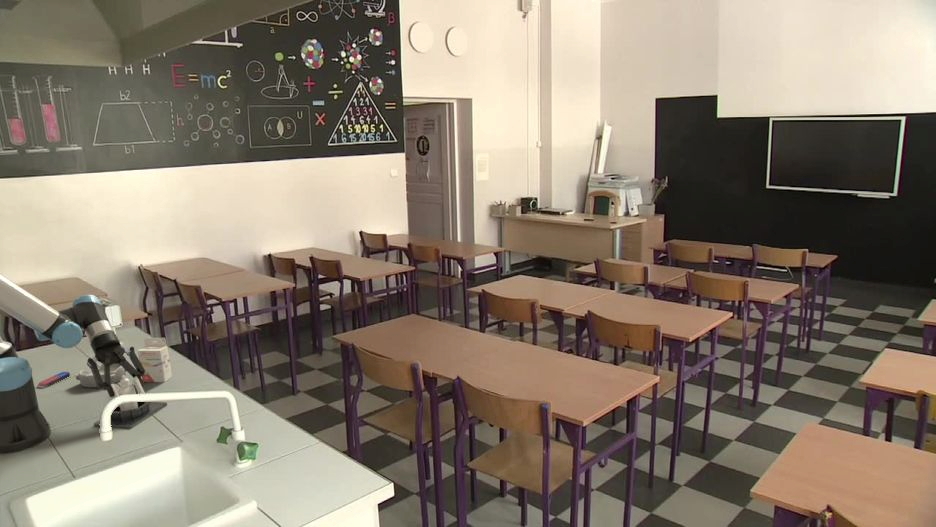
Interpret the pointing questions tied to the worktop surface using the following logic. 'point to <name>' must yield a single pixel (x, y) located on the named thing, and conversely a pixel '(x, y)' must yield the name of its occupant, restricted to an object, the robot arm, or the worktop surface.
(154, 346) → the ink cartridge box
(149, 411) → the black ribbed ring plate
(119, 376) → the dish
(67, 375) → the eraser
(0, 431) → the robot arm
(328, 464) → the worktop surface
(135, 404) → the eye dropper bottle
